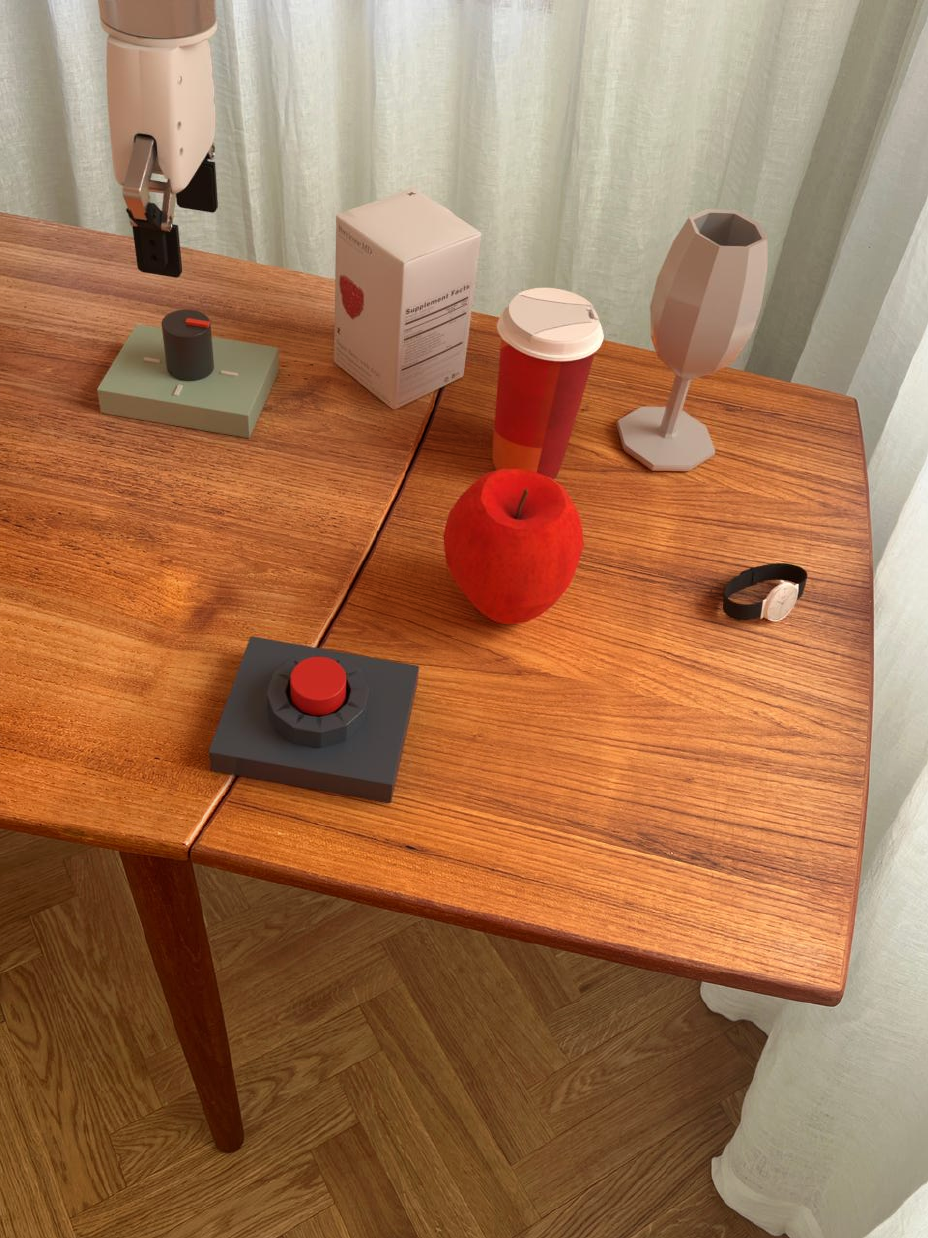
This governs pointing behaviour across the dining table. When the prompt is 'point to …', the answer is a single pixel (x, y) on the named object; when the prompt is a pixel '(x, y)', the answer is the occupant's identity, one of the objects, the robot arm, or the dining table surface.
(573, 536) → the apple
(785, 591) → the watch
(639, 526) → the dining table surface
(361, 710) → the grey button base
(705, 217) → the wineglass
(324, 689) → the power button
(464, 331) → the rectangular carton
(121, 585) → the dining table surface
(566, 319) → the coffee cup
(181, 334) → the timer knob
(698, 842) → the dining table surface
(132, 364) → the panel
